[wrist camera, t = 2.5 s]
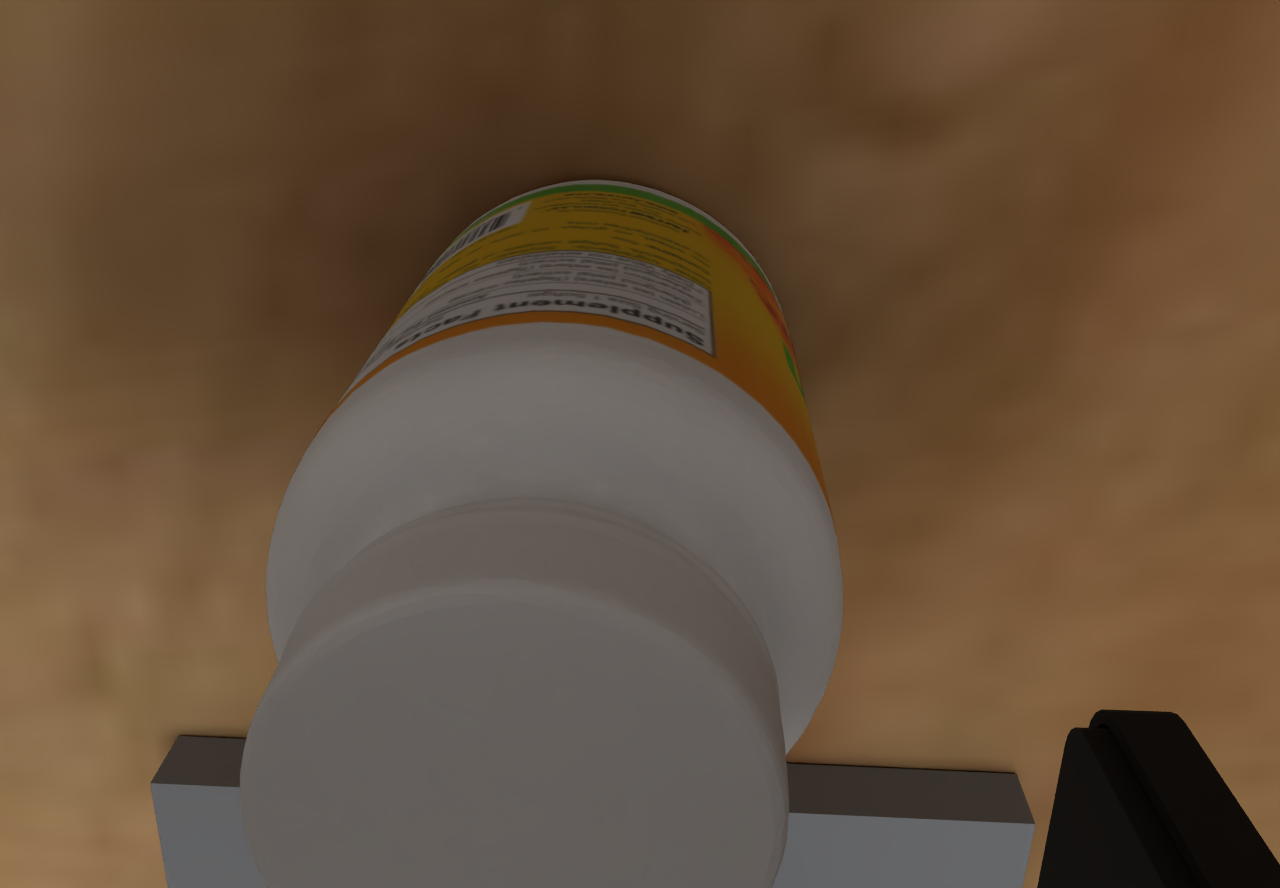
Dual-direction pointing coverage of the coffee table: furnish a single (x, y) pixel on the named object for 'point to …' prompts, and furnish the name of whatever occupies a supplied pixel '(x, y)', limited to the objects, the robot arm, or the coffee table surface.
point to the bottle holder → (815, 847)
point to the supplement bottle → (552, 572)
